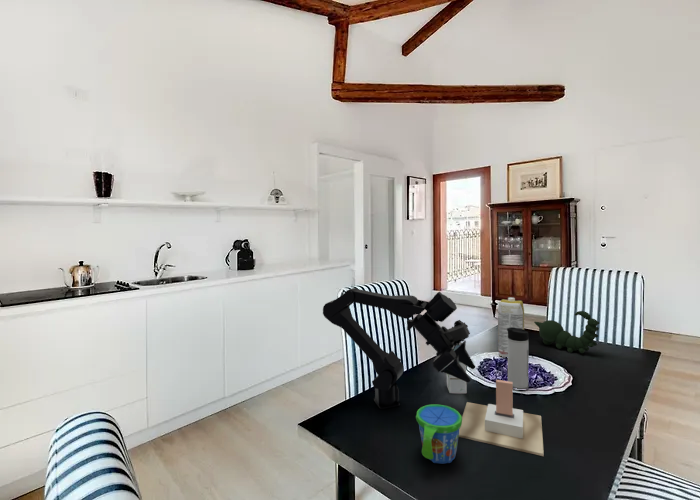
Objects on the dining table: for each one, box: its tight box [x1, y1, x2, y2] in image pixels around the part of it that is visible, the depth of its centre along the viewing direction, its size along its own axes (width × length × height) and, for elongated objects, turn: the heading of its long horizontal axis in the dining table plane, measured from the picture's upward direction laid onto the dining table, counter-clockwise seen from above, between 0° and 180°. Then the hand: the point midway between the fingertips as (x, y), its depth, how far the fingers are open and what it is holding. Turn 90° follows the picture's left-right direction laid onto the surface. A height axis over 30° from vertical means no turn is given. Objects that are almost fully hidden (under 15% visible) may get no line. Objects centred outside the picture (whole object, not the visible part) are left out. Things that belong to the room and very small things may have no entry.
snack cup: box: [415, 403, 463, 465], centre depth 85 cm, size 16×10×10 cm
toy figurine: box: [533, 310, 600, 354], centre depth 151 cm, size 9×19×25 cm
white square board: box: [485, 403, 524, 439], centre depth 96 cm, size 9×9×3 cm
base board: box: [458, 401, 545, 457], centre depth 96 cm, size 20×18×1 cm
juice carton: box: [497, 297, 525, 358], centre depth 144 cm, size 9×8×24 cm
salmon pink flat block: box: [495, 379, 514, 416], centre depth 95 cm, size 4×1×9 cm, turn 63°
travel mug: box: [507, 328, 529, 390], centre depth 118 cm, size 6×7×20 cm
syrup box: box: [445, 361, 468, 395], centre depth 118 cm, size 6×6×14 cm
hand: (472, 374), depth 99 cm, fingers open, 9 cm apart
